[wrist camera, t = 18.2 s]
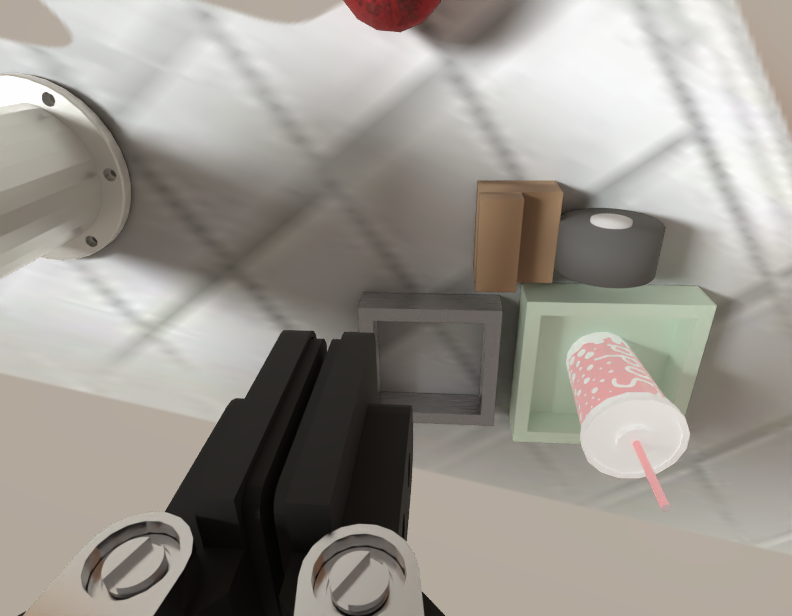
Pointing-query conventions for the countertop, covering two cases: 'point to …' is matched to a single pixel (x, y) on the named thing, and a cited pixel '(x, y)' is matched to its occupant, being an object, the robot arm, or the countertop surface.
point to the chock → (515, 233)
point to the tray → (601, 312)
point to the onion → (392, 13)
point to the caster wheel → (608, 247)
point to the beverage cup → (623, 412)
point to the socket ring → (444, 311)
